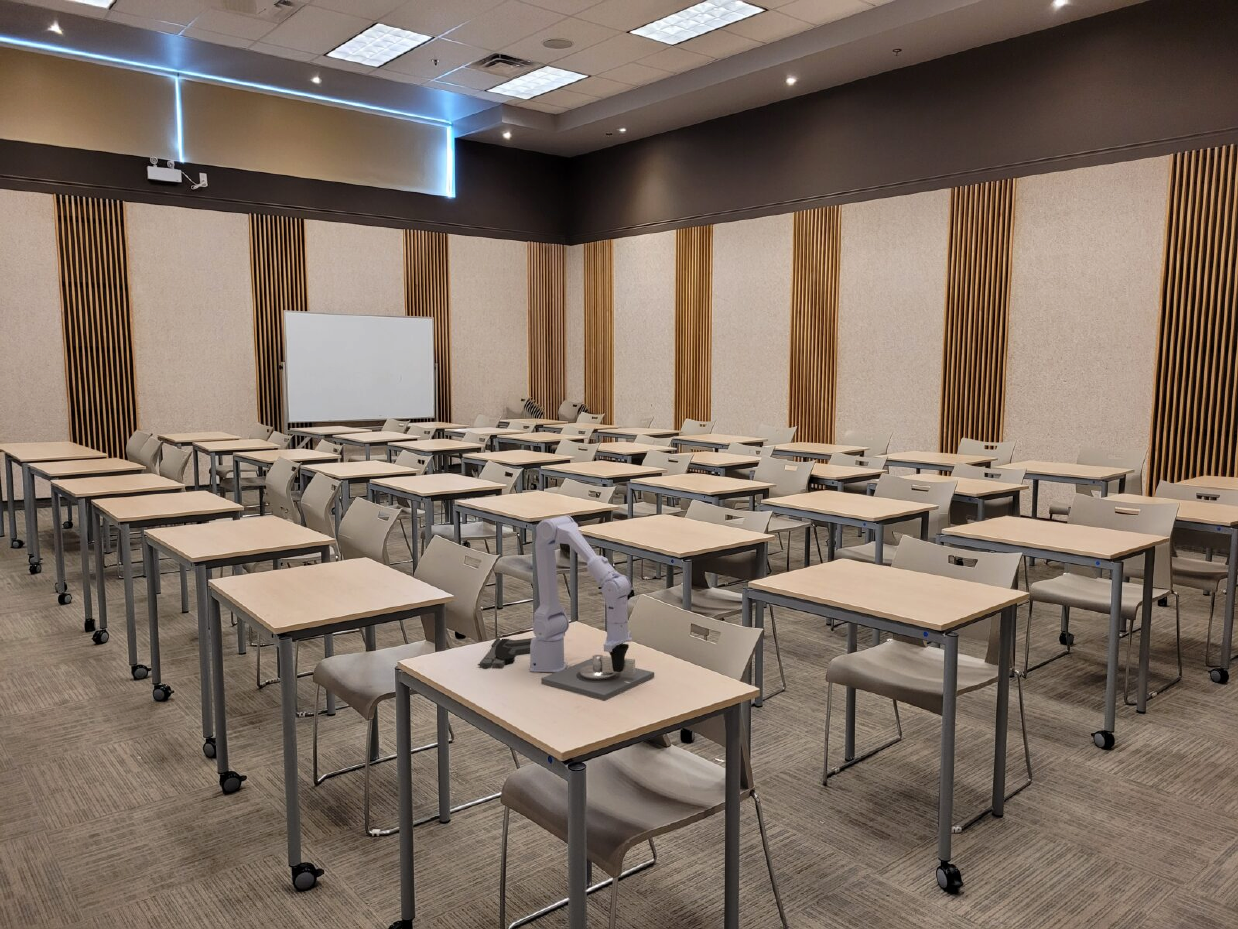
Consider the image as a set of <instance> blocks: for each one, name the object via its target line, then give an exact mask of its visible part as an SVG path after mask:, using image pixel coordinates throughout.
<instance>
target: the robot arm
mask: <svg viewBox="0 0 1238 929" xmlns="http://www.w3.org/2000/svg"><path fill="white" fill-rule="evenodd" d="M535 530H536V537H535V543H534V548H535V558H536V559H535V560H536V562H535V563H536V572H537V574H536V575H537V585H538V594H539V595H538V597H539V606H538V608H537V609H536V610H535V612H534V613H533V623H532V627H531V628H532V632H533V635H534V636H535V637H531V638H532V640H531V645H530V654H529V658H530V659H529V660H530V662H529V664H530V669H529V672H535V673H537V672H538V673H556V672H558V671H561V670H564V669H566V667H567V666H568V664H569V662H566V661H565V642H564V641H565V637H566V632H567V631H569V627H570V621H569V617H568V616H567V612H566V608H565V607H564V606H563V605H562V604H561V603H560V597H559V596H560V594H559V593H560V592H559V585H558V583H559V582H558V572H557V570H558V569H557V560H556V558H557V557H556V549H557V547H558V546H559V545H561V544H564V545H565V544H566V545H568V546H569V547H570V548H571V549H573V551H575V553H577V554H578V556H579V557H580V558H581V559H582V560H583V561H584V562H585V563H586V571H588V572H589V575H591V576H592V578H594V580H595V581H596V582H597V584H599V586H600V590H601V595H602V597H603V599H604V604H605V607H606V638H605V642H604V643H603V652H607V653H609V655H610V657H611V659H612V667H613V671H614V672H621V671H623V667H624V658H625V657H626V655H627V652H628V649H629V647H630V645H629V644H628V643H631V642H632V641H633V637H632V631H631V630H629V619H628V618H629V615H628V614H629V613H628V612H629V611H628V609H629V608H628V602H629V601H628V596H629V595H630V593H631V592H632V583H631V581H630V579H629V577H628V576H626V575H625V574H621V573H619V571H617V570H616V569H615V568H614V567H613V566H612V565H611V564H610V562H609V559H608V558H607V557H604V556H603V555H597V554H596V552H595V551H594V550H593V548H592V547H591V546H590V544H589V543H588V541H587V540H586V539H585V537H584V535H583V534H582V533H581V532H580V530H579V524H578V523H577V522H576V521H575V520H574V519H573V517H572V516H570V515H568V514H564V515H561V516H555V517H552V518H544V519H542V520H540V521H539V523H538V524H537V525H536V527H535Z"/></svg>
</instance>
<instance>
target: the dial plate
mask: <svg viewBox="0 0 1238 929" xmlns="http://www.w3.org/2000/svg"><path fill="white" fill-rule="evenodd" d="M587 665H593V657H591V658H589V659H587V660H584V661H581V662H580V663H576V664H574V665H572V666H569V667H567V668H565V669H564V670H561V671H558V672H552V673H551V674H548V675H546V676H544V677H541V679H540V680H541V681H540V682H541V684H542V685H544V686H545V685H546V686H547V687H548V686H549V687H552V688H555V689H556V688H557V689H560V690H563V691H567V692H571V693H575V694H579V695H582V696H586V697H589V698H593V699H597V700H601V701H605V702H606V701H607V700H609V699H611V698H613V697H615V696H618V695H620V694H622V693H625V692H627V691H628V690H631V689H632V688H635V687H637V686H639V685H642V684H643V683H646V682H648V681H650V680H652V679H654V678H655V672H654V671H650V670H646V669H642V668H638V667H635V674H634V675H631V674H622V673H616V676H614V677H612V678H609V679H604V680H590V679H586V678H583V677H581V676H580V669H581V668H582V667H584V666H587Z"/></svg>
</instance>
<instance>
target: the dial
mask: <svg viewBox="0 0 1238 929" xmlns="http://www.w3.org/2000/svg"><path fill="white" fill-rule="evenodd" d="M592 658H593V665H587V666H584V667H582V668H581V669H580V676H581V677H583V678H586V679H590V680H604V679H609V678H612V677H614V676H616V673H622V674H631V675H634V674H635V668H636V659H635V658H634V659H633V658H624V667H623V671H621V672H614V671H613V667H612V659H611V656H608V655H607V656H605V655H602V654H595V655H594V654H593V655H592Z"/></svg>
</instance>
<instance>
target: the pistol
mask: <svg viewBox="0 0 1238 929" xmlns="http://www.w3.org/2000/svg"><path fill="white" fill-rule="evenodd" d="M532 638H533V637H531V638H530V637H529V638H520V639H509V638H500V637H497V638H495V640H494V641H493V643H492V644H491V645H490V646H491V648H490V649H489V651H488V652H487V653H486V654H485V655H484V657H483V658H482V659H481V660H480V662H479V663H477V666H479V668H480V669H483V670H487V669H491V668H492V669H503V668H504V667H505V666H508V665H513V664H514V663H515V660H516V659H515V658H516V657H518V656H524V655H530V645H531V640H532Z"/></svg>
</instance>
